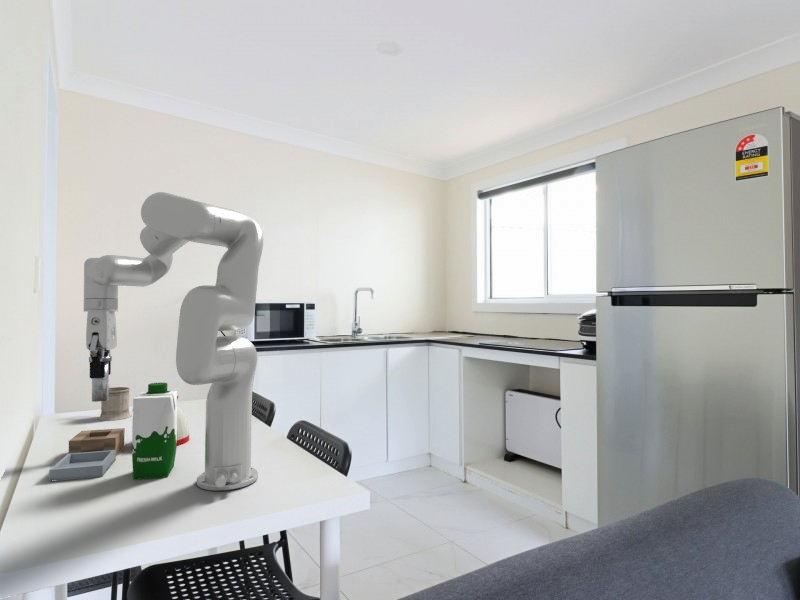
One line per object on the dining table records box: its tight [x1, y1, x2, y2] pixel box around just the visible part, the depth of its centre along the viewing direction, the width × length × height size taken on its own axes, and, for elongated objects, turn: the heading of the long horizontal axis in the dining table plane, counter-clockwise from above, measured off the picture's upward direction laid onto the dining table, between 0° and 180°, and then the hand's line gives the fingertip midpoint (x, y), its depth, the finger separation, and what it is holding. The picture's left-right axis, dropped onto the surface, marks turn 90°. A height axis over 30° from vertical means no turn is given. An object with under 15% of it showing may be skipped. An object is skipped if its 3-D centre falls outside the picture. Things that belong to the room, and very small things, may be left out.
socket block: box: [68, 427, 126, 457], centre depth 122 cm, size 10×10×5 cm
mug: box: [97, 383, 133, 422], centre depth 163 cm, size 14×10×12 cm
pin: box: [88, 355, 113, 403], centre depth 122 cm, size 5×5×11 cm
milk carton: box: [131, 382, 178, 481], centre depth 108 cm, size 9×9×20 cm
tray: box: [48, 450, 117, 482], centre depth 109 cm, size 12×10×2 cm
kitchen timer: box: [177, 395, 190, 447], centre depth 133 cm, size 14×14×15 cm
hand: (100, 375), depth 122 cm, fingers closed on pin, 4 cm apart
